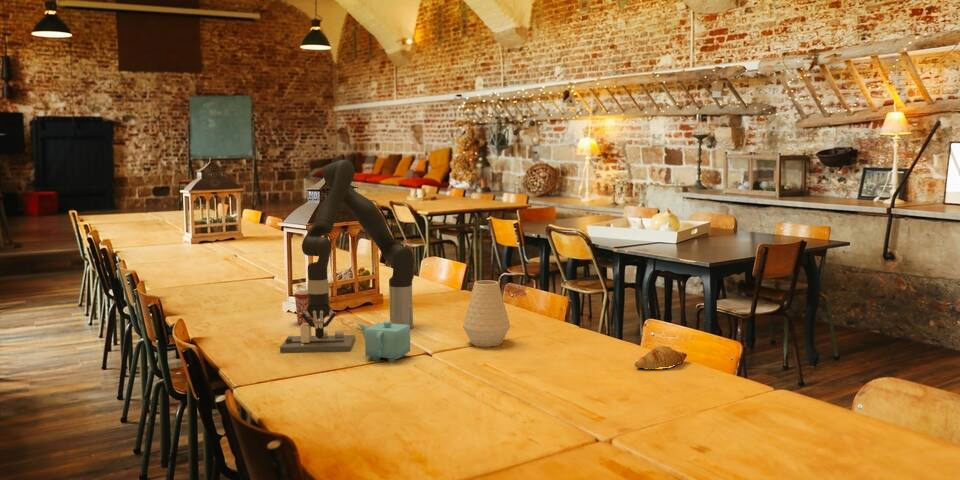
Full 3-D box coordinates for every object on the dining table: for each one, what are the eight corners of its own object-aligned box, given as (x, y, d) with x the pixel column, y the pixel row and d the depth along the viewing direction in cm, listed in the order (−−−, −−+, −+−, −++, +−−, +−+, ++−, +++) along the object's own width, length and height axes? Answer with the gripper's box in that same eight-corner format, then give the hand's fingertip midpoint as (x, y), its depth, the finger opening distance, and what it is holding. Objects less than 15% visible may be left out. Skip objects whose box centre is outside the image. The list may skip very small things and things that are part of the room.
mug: (299, 327, 325) (298, 294, 323) (292, 322, 333) (291, 291, 331) (329, 323, 331) (328, 291, 329) (321, 319, 339) (320, 288, 337)
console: (355, 340, 304) (354, 328, 303) (350, 351, 288) (350, 339, 287) (288, 341, 302) (288, 330, 302) (280, 352, 287) (279, 340, 286)
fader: (311, 339, 296) (311, 322, 295) (309, 342, 291) (308, 325, 290) (303, 339, 295) (302, 322, 295) (300, 342, 291) (300, 326, 290)
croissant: (640, 382, 260) (648, 364, 256) (623, 362, 268) (630, 344, 263) (690, 372, 270) (698, 354, 266) (672, 352, 277) (680, 335, 273)
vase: (517, 340, 302) (517, 280, 299) (498, 351, 286) (498, 288, 283) (475, 335, 309) (475, 277, 306) (455, 346, 293) (454, 284, 290)
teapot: (413, 353, 284) (412, 318, 283) (394, 365, 270) (393, 328, 268) (367, 349, 290) (366, 314, 288) (346, 361, 275) (345, 324, 274)
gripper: (337, 289, 295) (339, 335, 297) (301, 289, 294) (303, 335, 296) (335, 293, 287) (336, 340, 290) (298, 293, 287) (299, 340, 289)
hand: (319, 337), depth 293 cm, fingers closed
